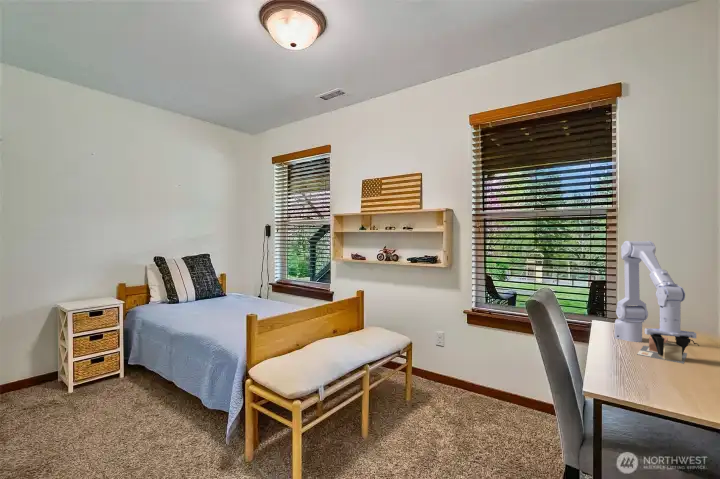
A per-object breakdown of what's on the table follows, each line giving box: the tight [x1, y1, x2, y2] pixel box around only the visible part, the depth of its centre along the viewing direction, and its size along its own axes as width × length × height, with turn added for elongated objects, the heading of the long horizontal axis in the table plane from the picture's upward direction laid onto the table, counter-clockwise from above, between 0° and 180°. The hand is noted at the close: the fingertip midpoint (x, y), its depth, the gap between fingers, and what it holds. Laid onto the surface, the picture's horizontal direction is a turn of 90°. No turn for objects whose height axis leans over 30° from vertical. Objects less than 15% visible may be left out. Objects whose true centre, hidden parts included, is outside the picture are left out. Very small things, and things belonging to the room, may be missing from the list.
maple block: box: [658, 342, 682, 361], centre depth 127 cm, size 5×5×5 cm
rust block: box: [648, 335, 669, 352], centre depth 135 cm, size 5×5×5 cm
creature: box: [674, 338, 700, 347], centre depth 144 cm, size 8×5×8 cm
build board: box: [636, 345, 688, 365], centre depth 131 cm, size 13×16×1 cm
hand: (669, 355), depth 127 cm, fingers closed on maple block, 5 cm apart
